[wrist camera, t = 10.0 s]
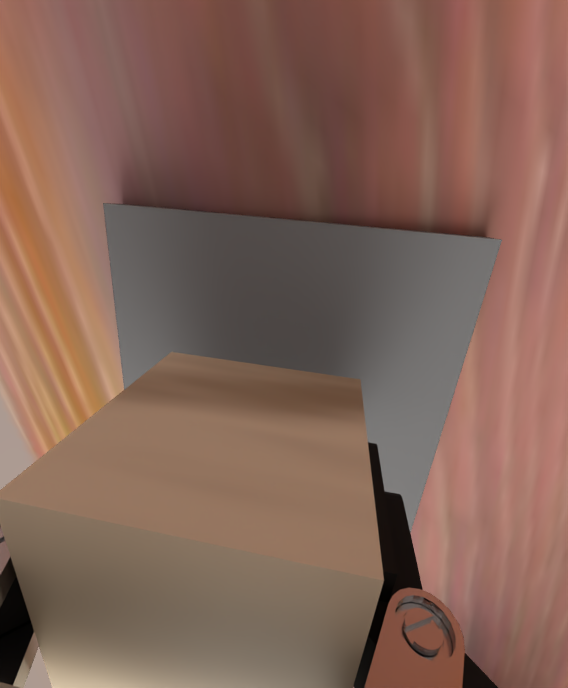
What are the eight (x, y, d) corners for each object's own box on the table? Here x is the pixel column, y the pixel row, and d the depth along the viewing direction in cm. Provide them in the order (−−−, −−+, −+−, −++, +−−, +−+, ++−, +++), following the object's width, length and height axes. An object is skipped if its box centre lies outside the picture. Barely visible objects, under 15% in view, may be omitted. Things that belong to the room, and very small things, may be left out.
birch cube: (171, 351, 11) (-9, 496, 5) (360, 379, 10) (383, 579, 5) (177, 493, 13) (56, 701, 7) (332, 524, 12) (326, 777, 7)
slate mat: (122, 203, 14) (103, 203, 12) (487, 237, 12) (501, 239, 11) (147, 472, 19) (135, 489, 18) (402, 521, 17) (407, 542, 16)
